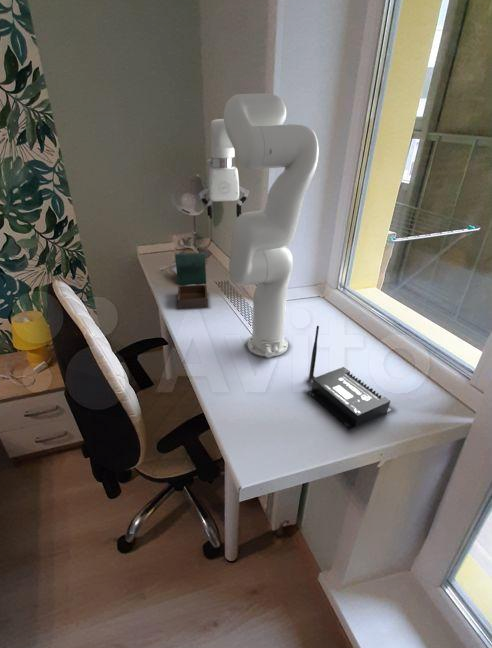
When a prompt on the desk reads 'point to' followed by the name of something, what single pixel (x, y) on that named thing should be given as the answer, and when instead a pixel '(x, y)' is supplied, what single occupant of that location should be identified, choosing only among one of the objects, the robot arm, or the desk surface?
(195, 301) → the drawer box
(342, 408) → the wireless controller
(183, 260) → the panel with handle
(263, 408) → the desk surface
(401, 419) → the desk surface
